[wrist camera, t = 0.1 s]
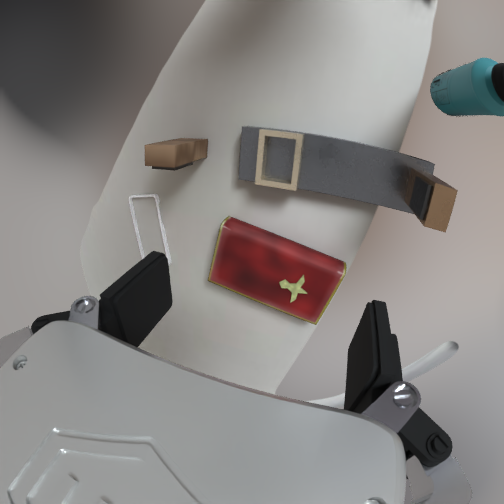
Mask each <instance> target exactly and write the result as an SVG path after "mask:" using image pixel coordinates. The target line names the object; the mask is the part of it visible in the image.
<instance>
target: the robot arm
mask: <svg viewBox="0 0 504 504" xmlns="http://www.w3.org/2000/svg"><path fill="white" fill-rule="evenodd" d="M100 297H101V299H100V300H99V301H98V299H97V298H95V297H93V296H84V297H81V298H79V299H77V300H76V301H74V303H73V304H72V306H71V310H70V311H66V312H60V313H55V314H49V315H44V316H41V317H39V318H37V319H36V320H35V321H34V322H33V324H32V326H31V329H30V328H29V326H28V327H26V328H23V329H21V330H19V331H16V332H14V333H12V334H9V335H7V336H5V337H3V338H1V339H0V504H404V499H405V488H406V478H407V479H409V481H410V483H411V486H409V487H410V489H411V491H412V495H413V498H412V502H411V504H469V502H470V500H471V498H472V489H471V487H470V484H469V482H468V480H467V478H466V476H465V474H464V472H463V471H462V469H461V467H460V465H459V463H458V461H457V459H456V457H455V458H452V456H451V455H450V454H451V452H452V441H451V439H450V437H449V436H448V434H446V432H444V431H443V430H442V429H441V428H440V427H439V426H438V425H437V424H436V423H435V422H434V421H433V420H432V419H431V418H430V417H429V416H428V415H427V414H425V413H424V412H423V411H422V410H421V409H420V408H419V405H420V403H421V395H420V393H419V391H418V389H417V388H416V387H415V386H414V385H412V384H411V383H409V382H405V381H403V379H402V370H401V362H400V356H399V348H398V341H397V336H396V335H395V334H391V330H390V324H389V318H388V312H387V307H386V303H385V302H382V301H377V300H373V301H372V303H369V302H368V303H367V305H366V308H365V310H364V313H363V316H362V318H361V320H360V323H359V325H358V327H357V330H356V332H355V334H354V337H353V339H352V341H351V343H350V346H349V349H348V362H347V379H346V391H345V402H344V410H343V409H338V408H334V407H329V406H324V405H319V404H314V403H309V402H305V401H300V400H296V399H291V398H287V397H283V396H278V395H274V394H270V393H267V392H263V391H259V390H255V389H252V388H248V387H245V386H241V385H238V384H235V383H231V382H228V381H225V380H222V379H218V378H215V377H212V376H209V375H206V374H204V373H201V372H198V371H195V370H192V369H189V368H187V367H184V366H181V365H179V364H176V363H174V362H171V361H168V360H166V359H163V358H161V357H158V356H156V355H154V354H151V353H149V352H146V351H144V350H142V349H140V348H137V347H138V346H139V345H140V344H141V342H142V341H143V340H144V339H145V338H146V336H147V335H148V334H149V333H150V332H151V330H152V329H153V328H154V327H155V326H156V324H157V323H158V322H159V321H160V320H161V318H162V317H163V316H164V315H165V314H166V312H167V311H168V310H169V309H170V308H171V306H172V293H171V285H170V275H169V265H168V258H167V257H166V256H165V254H164V253H160V252H156V251H153V252H151V253H150V254H148V255H147V256H146V257H145V258H143V259H142V260H141V261H140V262H138V263H137V264H136V265H135V266H134V267H132V268H131V269H130V270H129V271H127V272H126V273H125V274H124V275H123V276H121V277H120V278H119V279H118V280H117V281H115V282H114V283H113V284H112V285H111V286H110V287H108V288H107V289H106V290H105V291H104V292H103V293H101V294H100ZM366 500H367V501H366Z"/></svg>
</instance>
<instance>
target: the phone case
mask: <svg viewBox="0 0 504 504" xmlns="http://www.w3.org/2000/svg"><path fill="white" fill-rule="evenodd" d="M136 197H154V198H155V201H156V206H157V212H158V217H159V222H160V228H161V233H162V238H163V242H164V247H165V252H166V256H167V258H168V265H170V264H171V257H170V252H169V248H168V243H167V238H166V233H165V228H164V224H162V220H161V214H160V209H159V203H160V200H159V196H158V195H157V194H144V195H132V196H129V205H130V210H131V215H132V220H133V224H134V229H135V233H136V237H137V242H138V246H139V250H140V254H141V257H142V259H143V258H145V256H144V252H143V248H142V243H141V239H140V235H139V231H138V226H137V222H136V217H135V212H134V207H133V202H132V198H136Z"/></svg>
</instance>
